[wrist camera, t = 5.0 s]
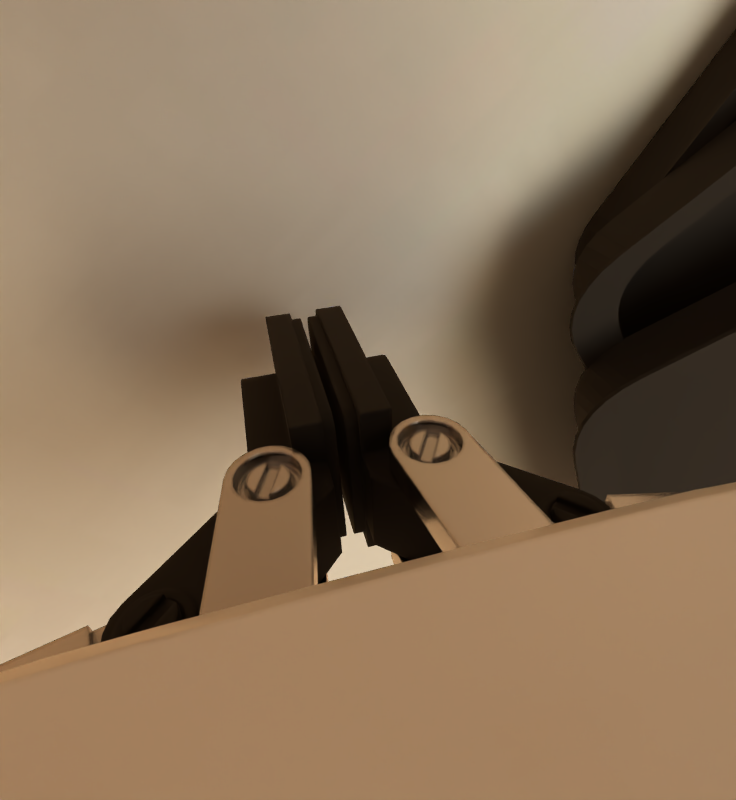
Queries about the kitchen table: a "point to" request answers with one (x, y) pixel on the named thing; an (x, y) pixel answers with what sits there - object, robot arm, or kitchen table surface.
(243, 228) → the kitchen table surface
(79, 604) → the kitchen table surface
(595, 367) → the tray
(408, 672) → the robot arm
